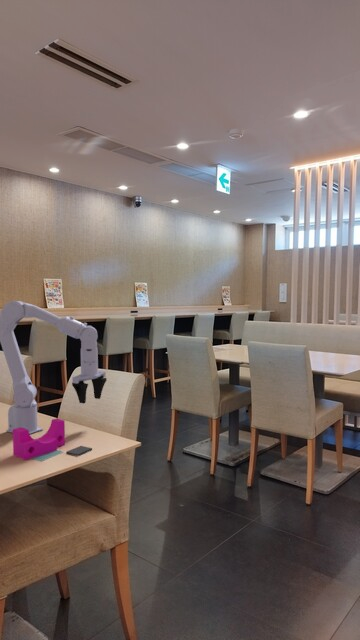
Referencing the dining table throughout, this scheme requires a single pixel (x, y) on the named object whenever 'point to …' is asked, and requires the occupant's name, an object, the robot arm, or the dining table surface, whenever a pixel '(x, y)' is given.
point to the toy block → (38, 440)
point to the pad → (47, 455)
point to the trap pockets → (79, 450)
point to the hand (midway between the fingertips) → (90, 400)
